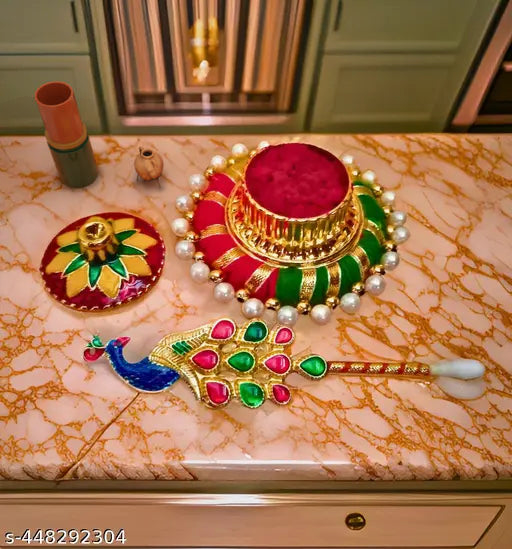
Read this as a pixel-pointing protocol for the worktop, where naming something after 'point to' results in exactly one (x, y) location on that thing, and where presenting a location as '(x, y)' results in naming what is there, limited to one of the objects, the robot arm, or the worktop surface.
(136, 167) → the pot
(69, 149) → the jar
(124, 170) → the worktop surface
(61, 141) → the cup
